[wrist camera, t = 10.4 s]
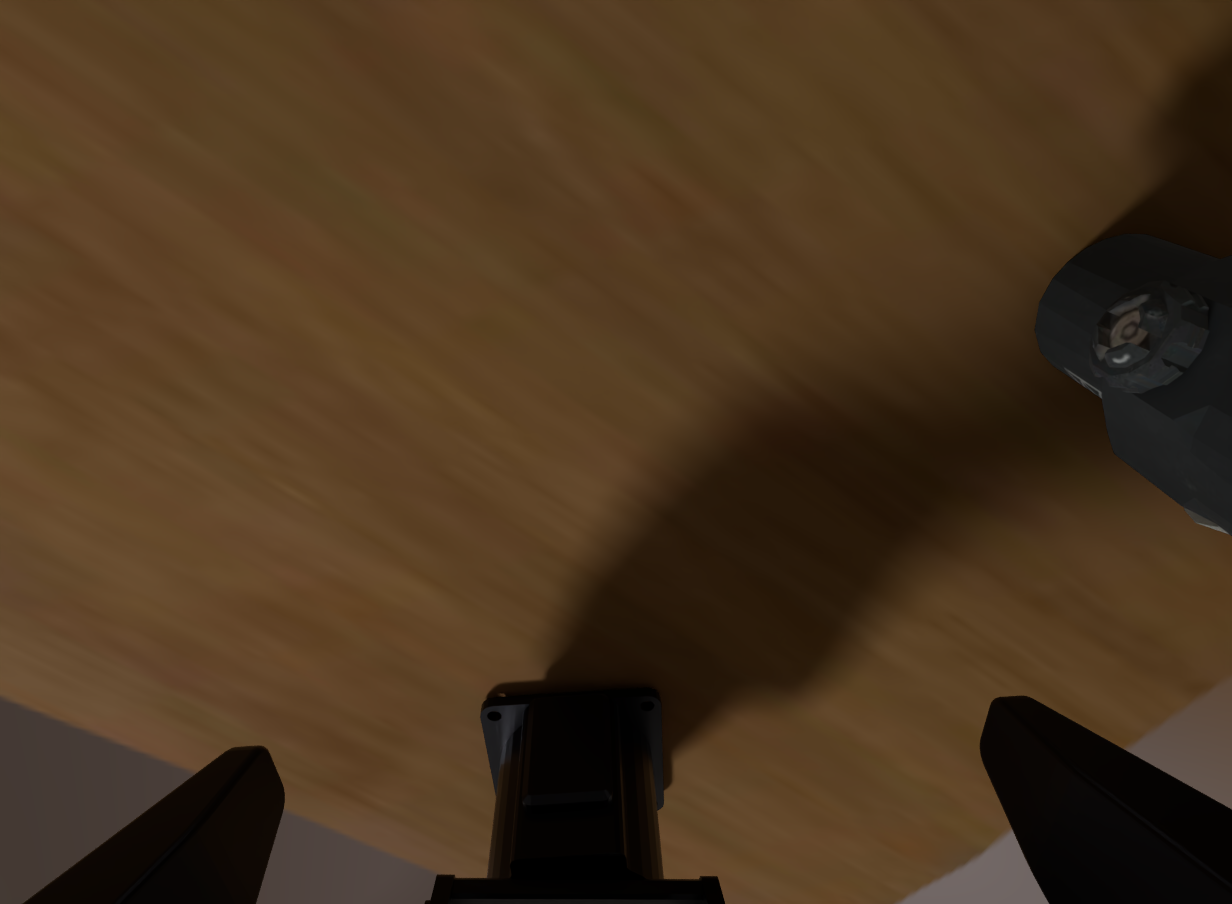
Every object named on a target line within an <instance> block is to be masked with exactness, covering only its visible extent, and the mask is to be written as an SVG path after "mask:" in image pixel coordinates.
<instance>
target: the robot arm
mask: <svg viewBox="0 0 1232 904" xmlns="http://www.w3.org/2000/svg"><path fill="white" fill-rule="evenodd" d="M645 701H650V702H647V703H646V702H645ZM492 711H497V712H492ZM480 718H481V723H482V728H483V733H484V738H485V743H486V748H487V753H488V758H489V763H490V768H491V773H492V778H493V783H494V788H495V793H496V803H495V812H494V820H493V829H492V838H491V847H490V855H489V864H488V873H487V878H455V875H437V876H436V881H435V885H434V889H433V893H432V897H431V900H427V901H425V904H725V901H724V898H723V894H722V890H721V887H720V883H719V880H718V877H717V876H700V878H699V879H664V876H663V866H662V855H661V845H660V835H659V824H658V814H657V810H659V809H661V808H662V807H663V804H664V792H663V753H662V715H661V699H660V694H659V692H658V691H657V690H655V689H652V688H633V689H618V690H603V691H587V692H572V693H557V694H541V695H526V696H510V697H495V698H489V699H487V700H485V701H484V702H483V704H482V708H481V716H480ZM980 753H981V758H982V761H983V764H984V767H985V769H986V771H987V773H988V776H989V778H990V780H991V782H992V785H993V787H994V789H995V791H996V794H997V796H998V798H999V800H1000V803H1001V805H1002V807H1003V809H1004V812H1005V814H1006V816H1007V818H1008V821H1009V823H1010V825H1011V827H1012V830H1013V832H1014V834H1015V836H1016V839H1017V841H1018V843H1019V845H1020V848H1021V850H1022V852H1023V854H1024V857H1025V859H1026V861H1027V863H1028V865H1029V867H1030V869H1031V871H1032V873H1033V875H1034V877H1035V879H1036V881H1037V883H1038V884H1039V886H1040V888H1041V890H1042V892H1043V894H1044V895H1045V897H1046V899H1047V901H1048V902H1049V904H1232V810H1231V809H1230V808H1228V807H1226V806H1225V805H1223V804H1221V803H1219V802H1217V801H1216V800H1214V799H1212V798H1210V797H1209V796H1207V795H1205V794H1203V793H1201V792H1199V791H1198V790H1196V789H1194V788H1192V787H1190V786H1189V785H1187V784H1185V783H1183V782H1182V781H1180V780H1178V779H1176V778H1174V777H1172V776H1171V775H1169V774H1167V773H1165V772H1163V771H1162V770H1160V769H1158V768H1156V767H1154V766H1153V765H1151V764H1149V763H1148V762H1146V761H1144V760H1142V759H1140V758H1139V757H1137V756H1135V755H1133V754H1131V753H1130V752H1128V751H1126V750H1124V749H1122V748H1121V747H1119V746H1117V745H1115V744H1113V743H1112V742H1110V741H1108V740H1106V739H1104V738H1103V737H1101V736H1099V735H1097V734H1095V733H1094V732H1092V731H1090V730H1088V729H1087V728H1085V727H1083V726H1081V725H1079V724H1078V723H1076V722H1074V721H1072V720H1070V719H1069V718H1067V717H1065V716H1063V715H1061V714H1060V713H1058V712H1056V711H1054V710H1052V709H1051V708H1049V707H1047V706H1045V705H1043V704H1042V703H1040V702H1038V701H1036V700H1034V699H1032V698H1030V697H1028V696H1008V697H998V698H995V699H994V700H993V701H992V702H991V705H990V708H989V711H988V715H987V718H986V722H985V725H984V729H983V732H982V736H981V739H980ZM284 802H285V793H284V787H283V784H282V782H281V779H280V777H279V774H278V772H277V770H276V767H275V765H274V762H273V760H272V758H271V755H270V753H269V751H268V750H267V749H266V748H265V747H264V746H244V747H234V748H231V749H229V750H227V751H226V752H224V753H223V754H222V755H220V756H219V757H218V758H216V759H215V760H214V761H212V762H211V763H210V764H208V765H207V766H206V767H204V768H203V769H202V770H200V771H199V772H197V773H196V774H195V775H193V776H192V777H191V778H189V779H188V780H187V781H185V782H184V783H183V784H182V785H180V786H179V787H177V788H176V789H175V790H173V791H172V792H171V793H169V794H168V795H167V796H166V797H164V798H163V799H161V800H160V801H159V802H157V803H156V804H155V805H153V806H152V807H151V808H150V809H148V810H147V811H145V812H144V813H143V814H142V815H140V816H139V817H137V818H136V819H135V820H133V821H132V822H131V823H129V824H128V825H127V826H125V827H124V828H123V829H121V830H120V831H119V832H117V833H116V834H115V835H113V836H112V837H111V838H109V839H108V840H107V841H106V842H104V843H103V844H101V845H100V846H99V847H97V848H96V849H95V850H94V851H92V852H91V853H89V854H88V855H87V856H85V857H84V858H83V859H81V860H80V861H79V862H77V863H76V864H75V865H73V866H72V867H71V868H69V869H68V870H67V871H65V872H64V873H63V874H61V875H60V876H59V877H57V878H56V879H55V880H53V881H52V882H50V883H49V884H48V885H46V886H45V887H44V888H42V889H41V890H40V891H38V892H37V893H36V894H34V895H33V896H32V897H30V898H29V899H28V900H26V901H25V902H24V903H22V904H256V902H257V898H258V895H259V891H260V888H261V885H262V881H263V878H264V874H265V871H266V868H267V864H268V860H269V857H270V853H271V850H272V847H273V844H274V840H275V837H276V833H277V830H278V827H279V823H280V820H281V816H282V813H283V809H284Z"/></svg>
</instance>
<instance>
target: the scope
mask: <svg viewBox="0 0 1232 904" xmlns="http://www.w3.org/2000/svg"><path fill="white" fill-rule="evenodd" d="M1035 333H1036V337H1037V340H1038V344H1039V348H1040V351H1041V353H1042V354H1043V355H1044V356H1045V357H1046V359H1047V360H1048V361H1049V362H1050V363H1051V364H1052V365H1053V366H1054V367H1056V368H1057V369H1059V370H1060V371H1062V372H1063V373H1064V374H1066V375H1067V376H1069V377H1070V378H1072V379H1073V380H1075V381H1076V382H1078V383H1079V384H1081V385H1082V386H1084V387H1085V388H1087V389H1088V390H1090V391H1091V392H1093V393H1094V394H1096V395H1097V396H1098V397H1100V398H1101V399H1102V403H1103V409H1104V415H1105V421H1106V427H1107V432H1108V435H1109V439H1110V442H1111V445H1112V449H1113V452H1114V454H1115V455H1117V456H1118V457H1119V458H1120V459H1122V460H1123V461H1124V462H1126V463H1127V464H1128V465H1129V466H1131V467H1132V468H1133V469H1135V470H1136V471H1137V472H1138V473H1140V474H1141V475H1142V476H1144V477H1145V478H1146V479H1147V480H1149V481H1150V482H1151V483H1153V484H1154V485H1155V486H1156V487H1158V488H1159V489H1160V490H1162V491H1163V492H1164V493H1165V494H1167V495H1168V496H1169V497H1171V498H1172V499H1173V500H1174V501H1176V502H1177V503H1178V504H1180V505H1181V506H1183V507H1184V510H1185V511H1186V512H1187V514H1188V515H1189V516H1190V517H1191V518H1192V519H1193V520H1194V522H1195V523H1198V524H1201V525H1204V526H1207V527H1209V528H1212V529H1215V530H1218V531H1221V532H1224V533H1227V534H1230V535H1231V536H1232V255H1230V256H1228V257H1225V258H1222V259H1218V258H1215V257H1212V256H1210V255H1207V254H1204V253H1201V252H1198V251H1195V250H1192V249H1189V248H1186V247H1183V246H1180V245H1177V244H1174V243H1171V242H1168V241H1165V240H1162V239H1159V238H1156V237H1153V236H1150V235H1147V234H1123V235H1119V236H1115V237H1111V238H1107V239H1104V240H1102V241H1100V242H1098V243H1096V244H1094V245H1092V246H1090V247H1088V248H1086V249H1084V250H1083V251H1082V252H1080V253H1079V254H1078V255H1076V256H1075V257H1074V258H1073V259H1071V260H1070V261H1069V262H1067V264H1066V265H1065V266H1064V267H1063V268H1062V269H1061V270H1060V271H1059V272H1058V273H1057V275H1056V276H1055V277H1054V278H1053V279H1052V281H1051V283H1050V285H1049V286H1048V288H1047V290H1046V292H1045V293H1044V295H1043V297H1042V299H1041V301H1040V302H1039V308H1038V314H1037V319H1036V325H1035Z"/></svg>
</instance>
